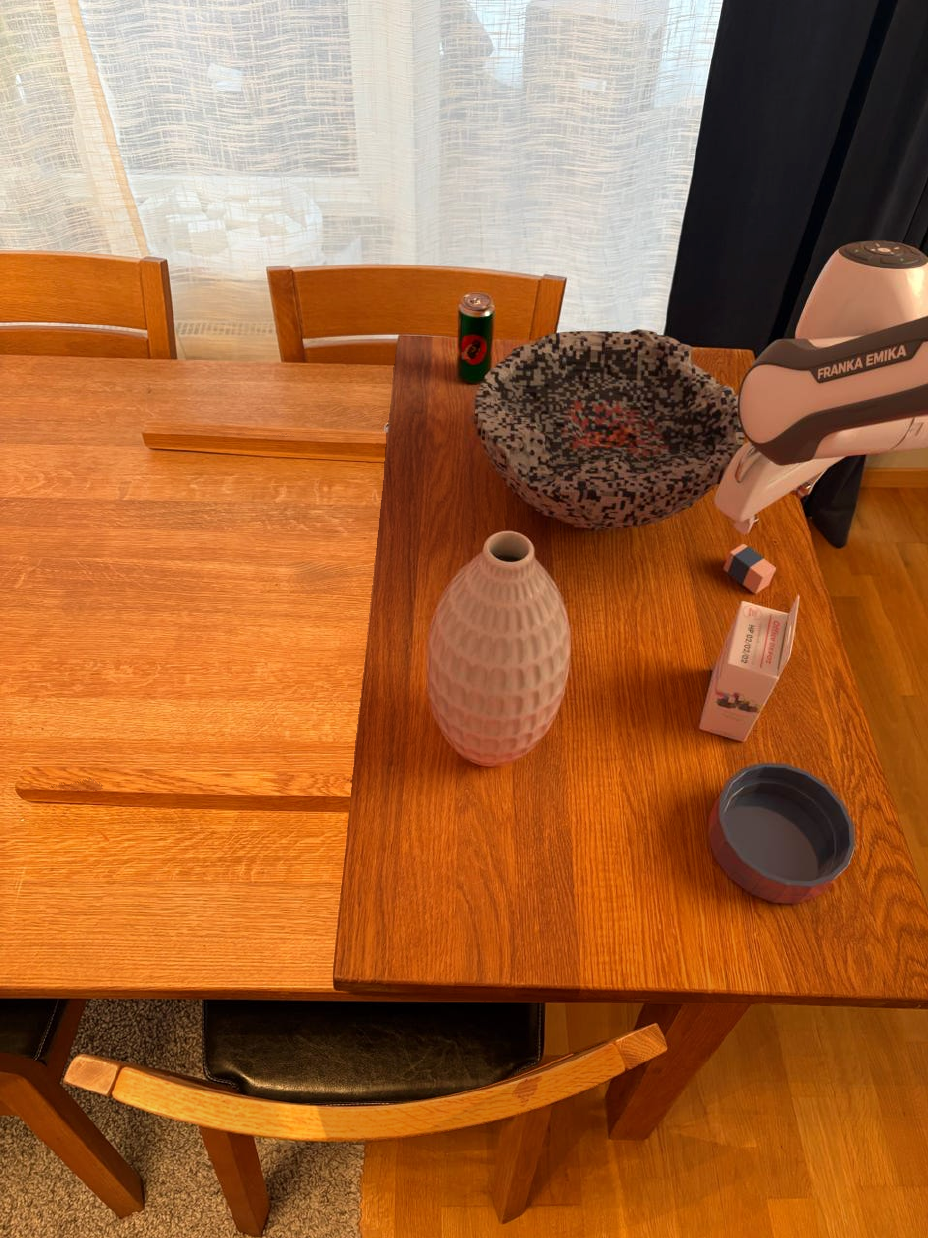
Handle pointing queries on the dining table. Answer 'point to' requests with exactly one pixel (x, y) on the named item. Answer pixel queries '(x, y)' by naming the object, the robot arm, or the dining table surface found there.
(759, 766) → the blue bowl
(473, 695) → the vase
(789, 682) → the dining table surface
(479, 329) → the soda can
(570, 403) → the bowl
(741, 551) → the eraser
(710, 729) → the ink box
